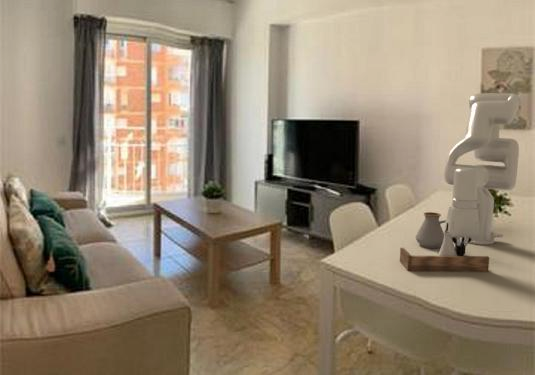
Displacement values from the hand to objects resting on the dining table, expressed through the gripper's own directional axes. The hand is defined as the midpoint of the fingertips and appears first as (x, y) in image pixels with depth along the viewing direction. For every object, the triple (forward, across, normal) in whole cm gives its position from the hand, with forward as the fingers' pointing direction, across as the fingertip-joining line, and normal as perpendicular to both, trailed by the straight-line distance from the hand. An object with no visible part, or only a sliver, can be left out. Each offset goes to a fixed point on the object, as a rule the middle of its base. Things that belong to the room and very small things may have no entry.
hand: (459, 255), depth 163 cm
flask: (+2, +4, 0) cm, 4 cm away
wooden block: (+4, +6, 0) cm, 7 cm away
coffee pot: (+4, -3, -21) cm, 22 cm away
